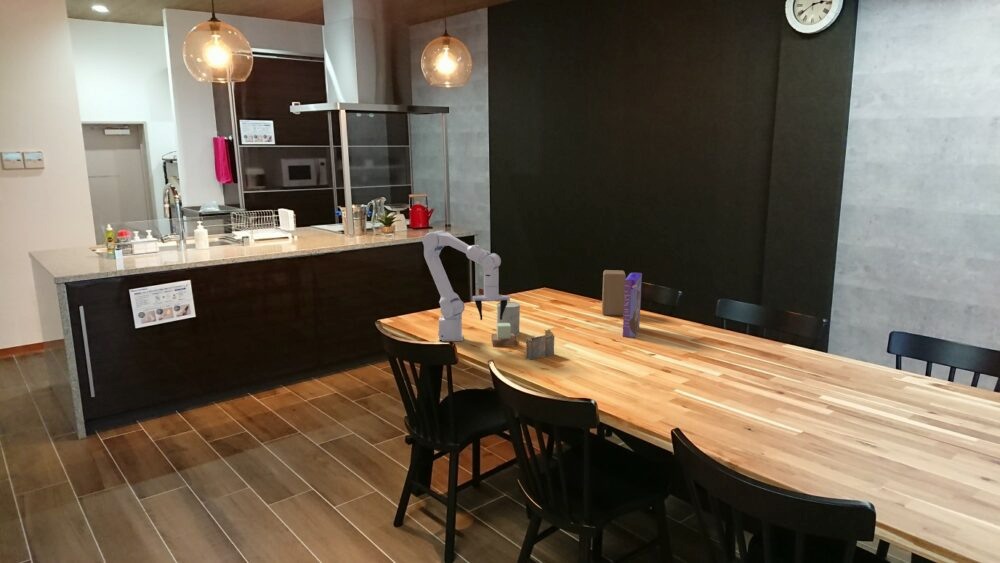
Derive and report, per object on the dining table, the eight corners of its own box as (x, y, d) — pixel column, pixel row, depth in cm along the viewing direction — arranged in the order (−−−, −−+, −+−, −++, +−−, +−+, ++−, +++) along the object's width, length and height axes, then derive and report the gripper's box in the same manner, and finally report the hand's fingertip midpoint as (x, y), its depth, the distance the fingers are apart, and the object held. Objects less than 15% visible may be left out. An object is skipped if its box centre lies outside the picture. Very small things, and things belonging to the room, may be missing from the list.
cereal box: (634, 337, 256) (637, 280, 252) (622, 336, 258) (625, 279, 253) (639, 327, 272) (641, 272, 268) (628, 326, 274) (630, 272, 269)
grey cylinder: (520, 330, 266) (521, 302, 264) (518, 336, 257) (518, 307, 255) (498, 329, 268) (498, 301, 265) (495, 335, 258) (495, 306, 256)
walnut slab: (492, 346, 244) (492, 340, 243) (491, 339, 253) (491, 333, 252) (515, 345, 244) (515, 339, 244) (513, 339, 253) (513, 333, 253)
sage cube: (497, 338, 245) (497, 326, 244) (496, 335, 250) (496, 323, 249) (510, 338, 246) (510, 326, 245) (509, 334, 251) (509, 322, 250)
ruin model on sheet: (548, 353, 237) (549, 328, 235) (553, 355, 234) (554, 330, 232) (525, 359, 230) (525, 333, 228) (530, 361, 228) (531, 335, 226)
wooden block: (601, 310, 302) (603, 269, 298) (623, 311, 300) (624, 270, 297) (602, 315, 292) (603, 273, 288) (624, 316, 291) (625, 273, 287)
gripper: (472, 287, 238) (472, 322, 241) (510, 287, 239) (510, 321, 242) (472, 283, 245) (472, 317, 248) (509, 283, 246) (508, 317, 249)
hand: (491, 319), depth 245 cm, fingers open, 7 cm apart
